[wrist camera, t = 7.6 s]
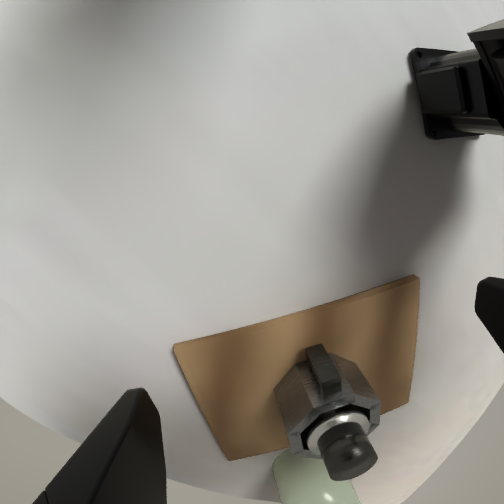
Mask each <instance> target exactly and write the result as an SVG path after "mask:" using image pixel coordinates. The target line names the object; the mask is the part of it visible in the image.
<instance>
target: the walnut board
mask: <svg viewBox="0 0 504 504" xmlns="http://www.w3.org/2000/svg"><path fill="white" fill-rule="evenodd" d="M419 289H420V278H418V277H417V276H415V275H411V276H408V277H405V278H403V279H400V280H397V281H394V282H391V283H388V284H385V285H382V286H380V287H377V288H374V289H371V290H368V291H365V292H361V293H358V294H355V295H352V296H349V297H346V298H343V299H340V300H337V301H333V302H330V303H327V304H324V305H320V306H317V307H314V308H310V309H307V310H304V311H300V312H297V313H293V314H290V315H286V316H283V317H279V318H276V319H272V320H268V321H265V322H261V323H257V324H254V325H250V326H246V327H242V328H238V329H235V330H231V331H227V332H223V333H219V334H215V335H211V336H206V337H202V338H198V339H194V340H190V341H185V342H181V343H176V344H174V353H175V355H176V357H177V359H178V362H179V364H180V366H181V368H182V371H183V373H184V375H185V377H186V379H187V381H188V383H189V386H190V388H191V390H192V392H193V394H194V396H195V398H196V400H197V402H198V404H199V406H200V408H201V410H202V412H203V414H204V416H205V418H206V420H207V422H208V424H209V426H210V428H211V430H212V432H213V434H214V435H215V437H216V439H217V441H218V443H219V445H220V447H221V448H222V450H223V452H224V454H225V456H226V458H227V459H228V461H232V460H237V459H242V458H247V457H251V456H255V455H260V454H264V453H268V452H272V451H276V450H280V449H283V448H287V447H290V445H289V441H288V438H287V435H286V432H285V429H284V425H283V422H282V419H281V416H280V413H279V409H278V405H277V401H276V398H275V394H274V390H273V389H274V388H275V386H276V385H277V384H278V383H279V382H280V381H281V379H282V378H283V377H284V376H285V375H286V374H287V372H288V371H289V370H290V369H291V368H292V366H293V365H294V364H295V363H299V362H302V361H305V360H307V359H306V353H305V348H308V347H311V346H314V345H317V344H321V343H322V345H323V346H324V348H325V350H326V351H327V353H330V352H331V353H333V354H336V355H338V356H340V357H343V358H345V359H347V360H350V361H352V362H355V363H356V364H357V366H358V367H359V369H360V370H361V372H362V373H363V375H364V376H365V378H366V379H367V381H368V382H369V384H370V385H371V387H372V389H373V390H374V392H375V393H376V395H377V396H378V398H379V399H380V401H381V411H380V415H382V414H384V413H386V412H389V411H391V410H393V409H396V408H398V407H400V406H402V405H404V404H406V403H408V401H409V395H410V388H411V382H412V374H413V366H414V358H415V349H416V338H417V326H418V311H419Z"/></svg>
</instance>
